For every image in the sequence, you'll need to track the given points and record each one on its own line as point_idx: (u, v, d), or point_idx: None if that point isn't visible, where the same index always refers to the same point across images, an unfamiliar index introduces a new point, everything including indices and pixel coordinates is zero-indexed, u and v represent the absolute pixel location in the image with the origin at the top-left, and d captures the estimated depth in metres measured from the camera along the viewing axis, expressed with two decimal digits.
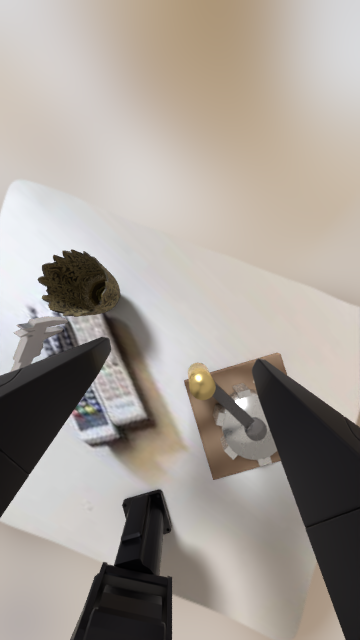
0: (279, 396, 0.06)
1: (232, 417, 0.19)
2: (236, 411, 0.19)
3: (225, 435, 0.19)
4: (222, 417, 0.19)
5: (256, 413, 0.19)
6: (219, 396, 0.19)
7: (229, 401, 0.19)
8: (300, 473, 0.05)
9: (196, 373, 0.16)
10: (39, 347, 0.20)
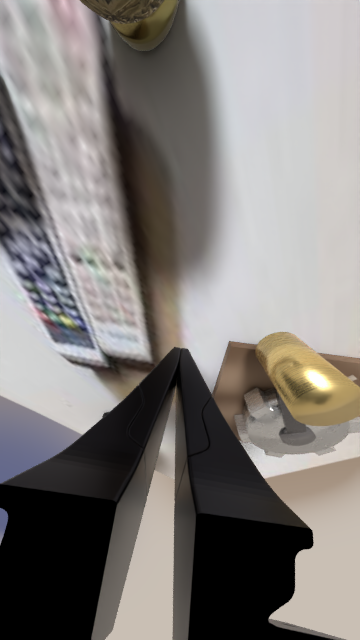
0: (178, 381, 0.06)
1: (278, 416, 0.13)
2: (292, 417, 0.12)
3: (252, 425, 0.14)
4: (265, 412, 0.12)
5: None
6: None
7: None
8: (177, 452, 0.05)
9: (333, 375, 0.06)
10: None
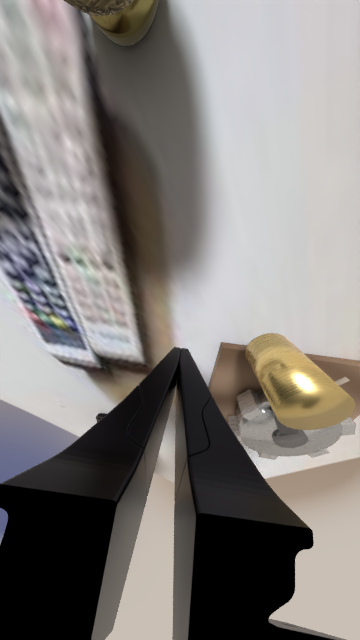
0: (179, 381, 0.06)
1: (270, 418, 0.12)
2: None
3: (244, 427, 0.14)
4: (257, 414, 0.12)
5: None
6: None
7: None
8: (177, 452, 0.05)
9: (318, 378, 0.06)
10: None
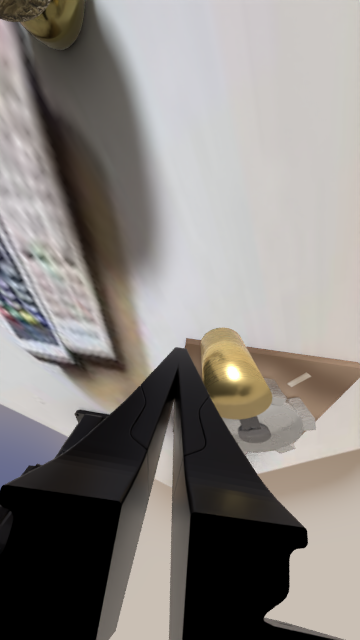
0: (177, 381, 0.06)
1: None
2: None
3: None
4: None
5: (268, 422, 0.13)
6: None
7: None
8: (174, 451, 0.05)
9: (238, 368, 0.06)
10: None
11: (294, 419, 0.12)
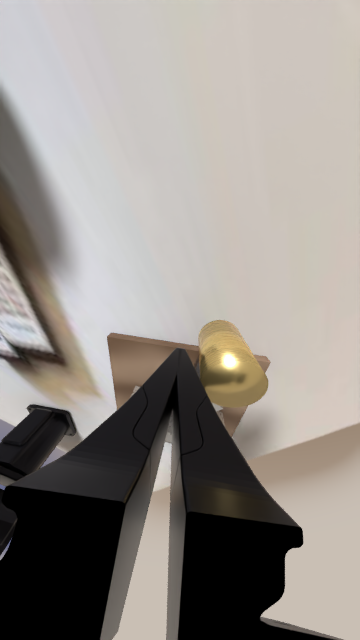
0: None
1: None
2: None
3: None
4: None
5: None
6: None
7: None
8: (172, 451, 0.05)
9: (256, 361, 0.06)
10: None
11: None
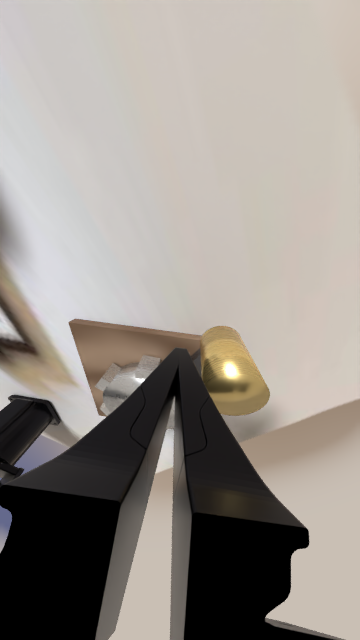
0: (177, 381, 0.06)
1: None
2: None
3: (123, 380, 0.12)
4: None
5: None
6: None
7: None
8: (175, 451, 0.05)
9: None
10: None
11: None
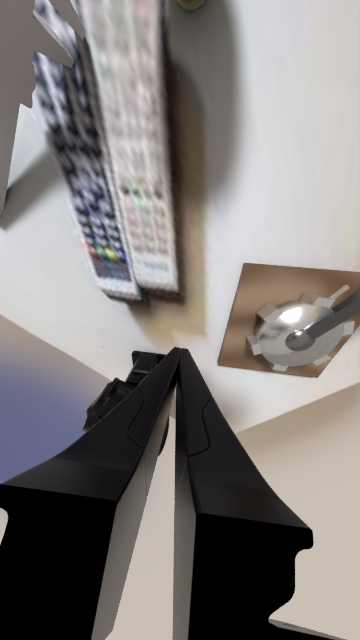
0: (178, 381, 0.06)
1: (321, 316, 0.15)
2: (334, 320, 0.15)
3: (298, 309, 0.15)
4: (326, 304, 0.14)
5: (316, 341, 0.16)
6: None
7: (353, 312, 0.14)
8: (176, 452, 0.05)
9: None
10: (27, 74, 0.10)
11: (326, 350, 0.17)
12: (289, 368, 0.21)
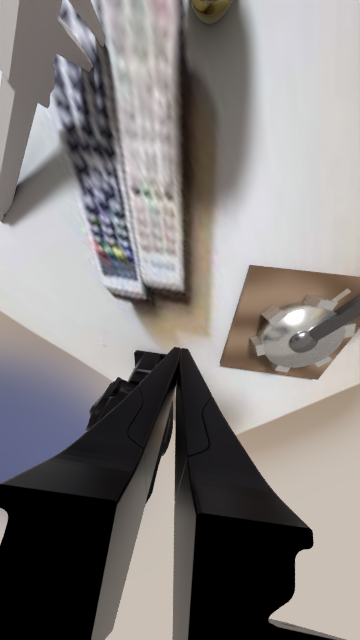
0: (178, 381, 0.06)
1: (324, 318, 0.15)
2: (336, 322, 0.15)
3: (302, 311, 0.15)
4: (329, 307, 0.15)
5: (318, 342, 0.17)
6: None
7: (355, 315, 0.14)
8: (176, 452, 0.05)
9: None
10: (47, 76, 0.10)
11: (327, 352, 0.17)
12: (290, 370, 0.22)
